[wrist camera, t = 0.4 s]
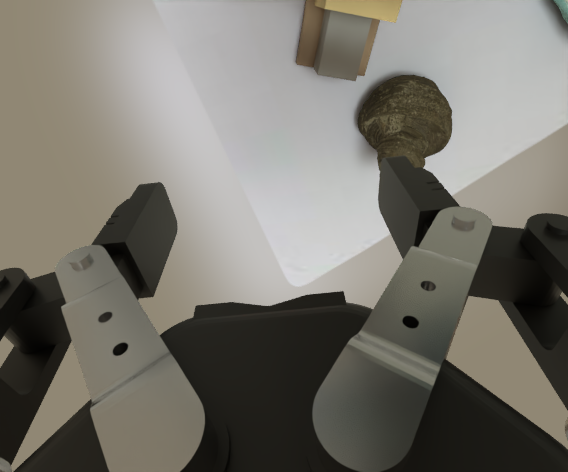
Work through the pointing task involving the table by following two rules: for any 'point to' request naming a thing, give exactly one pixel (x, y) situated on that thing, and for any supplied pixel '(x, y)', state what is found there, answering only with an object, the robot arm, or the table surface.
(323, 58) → the valve plinth
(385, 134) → the seashell
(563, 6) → the stuffed animal
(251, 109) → the table surface
